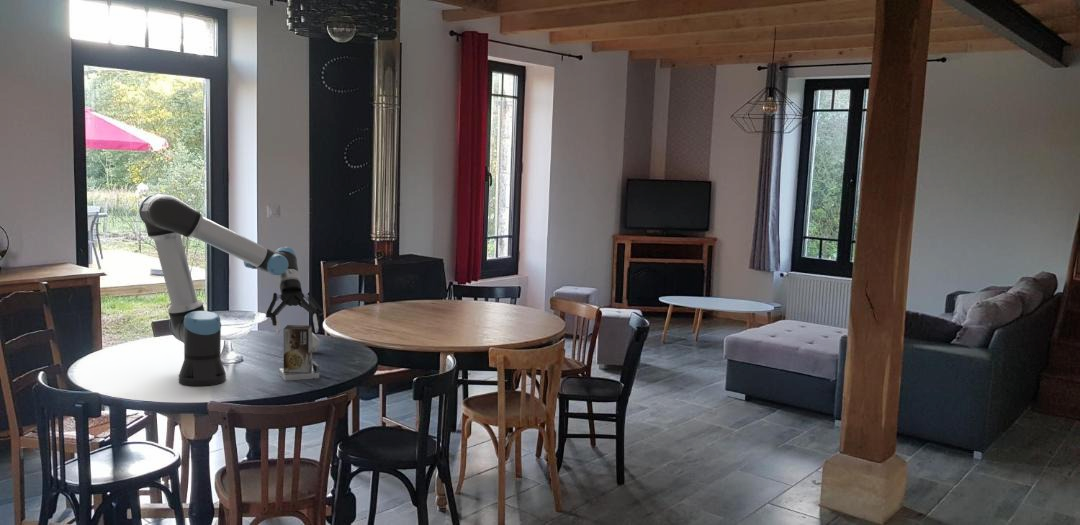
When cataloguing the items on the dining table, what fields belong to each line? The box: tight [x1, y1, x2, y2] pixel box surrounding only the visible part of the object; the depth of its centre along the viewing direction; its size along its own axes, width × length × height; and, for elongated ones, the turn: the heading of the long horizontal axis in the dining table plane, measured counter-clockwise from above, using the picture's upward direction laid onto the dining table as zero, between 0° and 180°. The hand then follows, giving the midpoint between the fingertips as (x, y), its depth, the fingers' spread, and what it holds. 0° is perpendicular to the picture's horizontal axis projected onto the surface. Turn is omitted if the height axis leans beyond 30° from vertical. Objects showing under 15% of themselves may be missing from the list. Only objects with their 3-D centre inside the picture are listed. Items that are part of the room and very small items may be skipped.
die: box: [312, 332, 321, 354], centre depth 340 cm, size 8×9×10 cm
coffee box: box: [282, 324, 313, 373], centre depth 302 cm, size 9×6×16 cm
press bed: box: [278, 359, 320, 382], centre depth 303 cm, size 12×10×4 cm
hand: (298, 331), depth 302 cm, fingers open, 13 cm apart
